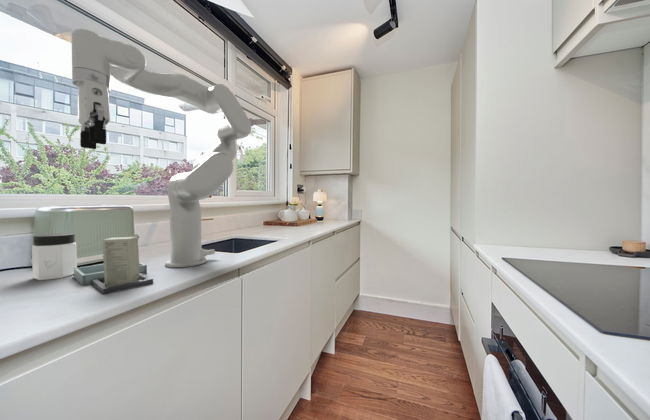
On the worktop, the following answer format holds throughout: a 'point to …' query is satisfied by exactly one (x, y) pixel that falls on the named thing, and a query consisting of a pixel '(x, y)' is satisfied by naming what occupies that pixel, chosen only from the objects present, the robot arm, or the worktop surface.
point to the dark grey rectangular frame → (104, 289)
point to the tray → (97, 272)
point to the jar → (54, 255)
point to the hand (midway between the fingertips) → (93, 145)
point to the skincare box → (121, 260)
